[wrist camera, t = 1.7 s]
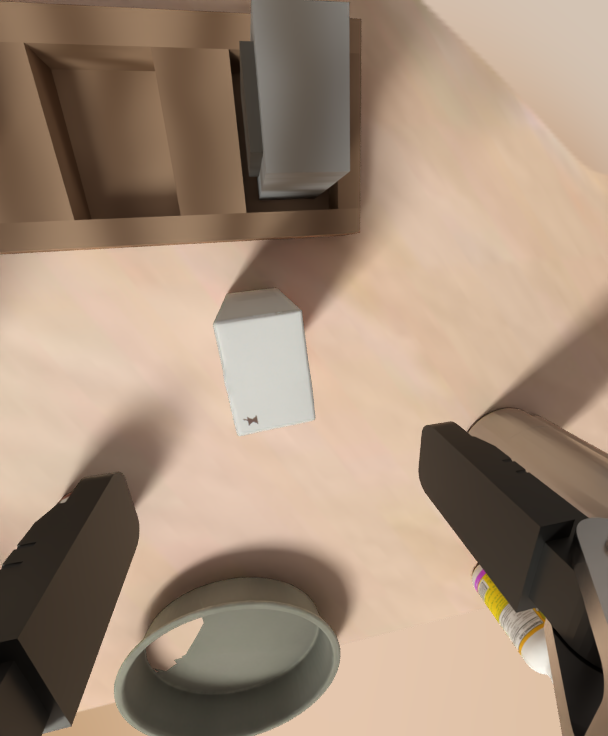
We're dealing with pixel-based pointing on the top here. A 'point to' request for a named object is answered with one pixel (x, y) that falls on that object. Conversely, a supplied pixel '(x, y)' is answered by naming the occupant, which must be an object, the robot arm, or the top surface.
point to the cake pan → (231, 662)
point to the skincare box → (264, 360)
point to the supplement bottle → (516, 623)
